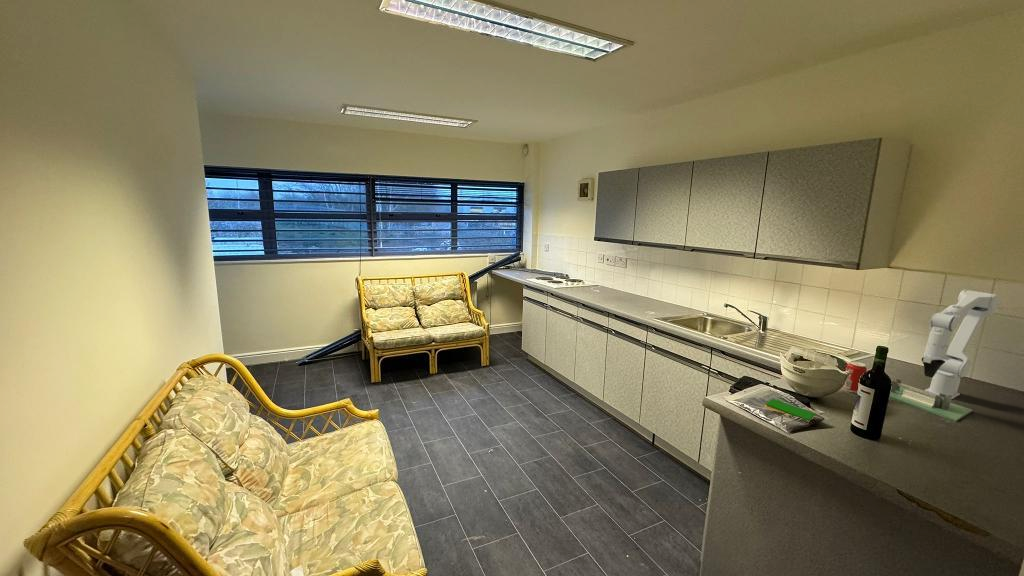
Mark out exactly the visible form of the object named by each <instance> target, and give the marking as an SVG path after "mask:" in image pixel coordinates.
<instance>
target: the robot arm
mask: <svg viewBox="0 0 1024 576" xmlns="http://www.w3.org/2000/svg"><path fill="white" fill-rule="evenodd" d="M1000 300H1001V297H1000V296H999V294H998V293H988V292H981V291H975V290H970V289H966V288H965V289H963V290H961V291H960V293H959V295H958V297H957V303H956V304H950V305H948V307H946V308H945V309H944V310H942V311H941V312H936V313H933V314H932V315H931V317H930V319H929V328H928V331H929V334H928V338H927V342H926V346H925V350H924V352H923V357H921V362H922V364H923V369H924V370H923V371H924V376H925V377H927V378H931V382H930V386H929V387H928V388H926V389H924V391H927V392H930V393H933V394H936V395H940V393H942V394H945V395H946V396H948V395H952V399H951V400H953V399H955V398H957V397H958V396H960V392H958V389H959V386H960V383H961V378H963V377H965V376H966V375H968V373H969V371H970V368H971V365H972V359H971V358H970V357H968V355H966V352H967V350H968V349H969V346H970V345H971V342H973V339H974V337H975V335H976V333H977V331H978V329H979V328H980V326H981V324H982V322H983V321H984V319H985V318H987V317H988V318H989V317H992V316H993V314H994V313H995V311H996V310H997V308H998V306H999V303H1000ZM961 321H962V322H961ZM960 323H961V324H960ZM958 326H959V327H958ZM957 328H958V329H957ZM956 330H957V331H956ZM954 331H956V333H955V335H954V337H953V339H952V336H953V333H954ZM951 339H952V341H951Z"/></svg>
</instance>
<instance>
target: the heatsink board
mask: <svg viewBox="0 0 1024 576" xmlns="http://www.w3.org/2000/svg"><path fill="white" fill-rule="evenodd" d="M902 381H903V380H902V379H900V378H896V380H892V381H891V384H892V389H891V394H890V398H889V399H890V400H894V401H896V402H899V403H901V404H904V405H907V406H910V407H913V408H916V409H919V410H921V411H924V412H927V413H930V412H931V413H930V414H932V415H935V414H936V415H935V416H938V415H939V417H941V418H944V419H947V420H950V421H952V420H953V422H958V421H959V420H960V419H962V418H964V417H965V416H967V415H969V414H970V413H971V412H972V411H973V409H971V408H967V407H965V406H962V405H960V404H959V405H958V404H955V403H953V402H951V401H952V400H953V399H952V395H948V396H946V395H945V394H942V393H940V395H939V396H937V395H936V397H935V398H934V397H931V396H928V395H925V394H922V393H919V392H916V391H913V390H910V389H907V388H904V387H901V386H898V385H897V383H898V382H899V383H903V382H902ZM940 396H942V397H944V400H942V397H940Z"/></svg>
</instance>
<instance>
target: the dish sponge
mask: <svg viewBox="0 0 1024 576" xmlns="http://www.w3.org/2000/svg"><path fill="white" fill-rule="evenodd" d="M765 407H766V408H769V409H772V410H775V411H778V412H782V413H785V414H789V415H794V416H797V417H801V418H804V419H806V420H808V421H810V420H811V418H812V417H813V416H815V417H816V413H815V412H812V411H809V410H806V409H803V408H801V407H799V406H795V405H792V404H790V403H786V402H784V401H781V400H779V399H775V398H771V399H770V400H768V401H767V402H766V403H765V406H764V408H765Z"/></svg>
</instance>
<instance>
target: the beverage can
mask: <svg viewBox="0 0 1024 576" xmlns="http://www.w3.org/2000/svg"><path fill="white" fill-rule="evenodd" d="M848 370H850V374H849V376H848V378H847V380H846V382H845V385H844V387H842V388H843V389H844V390H845V391H847V392H849V393H852V394H853V392H854V394H858V393H857V390H858V383H859V379H860V376H861V375H862V374H863V373H865V372H866V373H867V371H868V368H867V367H866V364H865V363H862V362H861V361H860V362H859V361H855V360H852V361H849V362H848V363H847V364H846V368H845V371H844V373H845V372H846V371H848Z"/></svg>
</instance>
